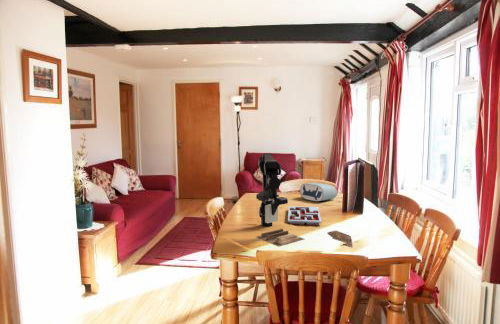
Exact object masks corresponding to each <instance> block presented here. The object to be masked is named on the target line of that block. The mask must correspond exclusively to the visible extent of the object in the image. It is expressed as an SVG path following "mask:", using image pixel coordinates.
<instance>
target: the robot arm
mask: <svg viewBox="0 0 500 324" xmlns="http://www.w3.org/2000/svg"><path fill="white" fill-rule="evenodd" d="M257 165H258V168H259V172H260V173H261V175H262V191H260V192H259V193H256V195H255V197H256V200H258V201H260V206H259V209H258V217H259V218H260V220H261V221H260V226H262V227H267V228H270V227H273V222H271V223H265V205H271V208H272V215H274V214H275V212H276V210H277V208H278V209H279V206H281V205H287V204H289V202H288V201H289V200H288V198H287V197H284V196H280V195H279V194H278V190H279V189H280V186H281V180H280V178H278V176H281V174H282V168H281V167H282V166H281V163H280V162H279V161H278V160H277V159H276V160H275V159H274V157H273V155H272V153H269V152H267V153H266V152H264V153H262V155H261V156H260V157H259V158H258V163H257Z"/></svg>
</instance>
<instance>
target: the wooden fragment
mask: <svg viewBox="0 0 500 324" xmlns="http://www.w3.org/2000/svg"><path fill="white" fill-rule="evenodd" d="M327 234H328V235H330V237H331V239H333V240H335V241H338V242H342V245H344V246H347V247H348V248H353V242H352V236H351V235H350V234H346V233H345V232H341V231H339V230H337V229H335V230H331V231H328V232H327Z"/></svg>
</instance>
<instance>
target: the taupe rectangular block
mask: <svg viewBox="0 0 500 324" xmlns="http://www.w3.org/2000/svg"><path fill="white" fill-rule="evenodd" d="M278 209H279V207H278V208H277V210H276V212H275V214H274V215H272V208H271V205H265V223H271V222H272V223H275V222H278V220H279V213H278V212H279V210H278Z"/></svg>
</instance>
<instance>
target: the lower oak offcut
mask: <svg viewBox="0 0 500 324" xmlns="http://www.w3.org/2000/svg"><path fill="white" fill-rule="evenodd" d="M297 240H300V236H298V237H297V238H294V239H291V240H287V241H283V242H281V241H279V240H277V239H276V240H275V242H276V243H279V244H281V245H283V244H286V243H290V242H293V241H297ZM297 242H298V241H297ZM290 244H291V243H290ZM283 246H284V245H283Z"/></svg>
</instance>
